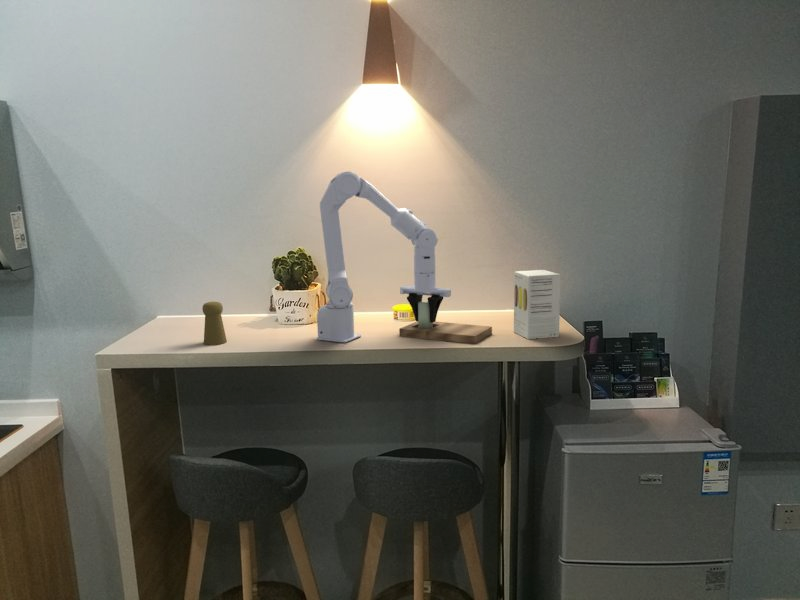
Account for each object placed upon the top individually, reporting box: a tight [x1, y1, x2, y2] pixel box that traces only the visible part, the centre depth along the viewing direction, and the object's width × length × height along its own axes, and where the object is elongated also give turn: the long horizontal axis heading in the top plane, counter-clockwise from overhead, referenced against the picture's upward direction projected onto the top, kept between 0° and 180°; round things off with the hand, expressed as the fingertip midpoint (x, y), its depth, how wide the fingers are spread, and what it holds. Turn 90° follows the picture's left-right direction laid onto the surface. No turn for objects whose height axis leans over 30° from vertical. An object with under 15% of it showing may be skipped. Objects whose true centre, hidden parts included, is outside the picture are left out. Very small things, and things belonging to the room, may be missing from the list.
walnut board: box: [398, 320, 493, 345], centre depth 173 cm, size 22×12×2 cm, turn 61°
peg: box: [418, 300, 433, 329], centre depth 176 cm, size 4×4×8 cm
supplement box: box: [513, 269, 562, 340], centre depth 170 cm, size 10×9×17 cm
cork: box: [202, 301, 227, 346], centre depth 170 cm, size 6×6×11 cm
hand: (425, 321), depth 176 cm, fingers closed on peg, 4 cm apart
